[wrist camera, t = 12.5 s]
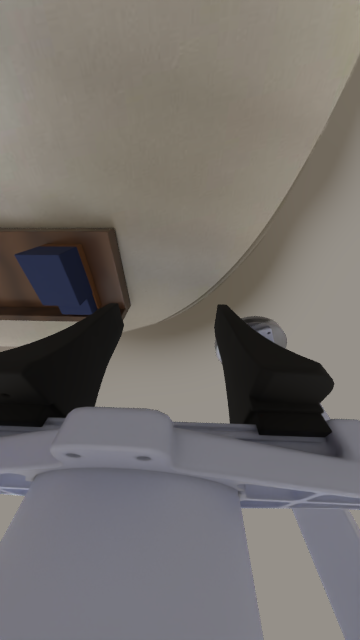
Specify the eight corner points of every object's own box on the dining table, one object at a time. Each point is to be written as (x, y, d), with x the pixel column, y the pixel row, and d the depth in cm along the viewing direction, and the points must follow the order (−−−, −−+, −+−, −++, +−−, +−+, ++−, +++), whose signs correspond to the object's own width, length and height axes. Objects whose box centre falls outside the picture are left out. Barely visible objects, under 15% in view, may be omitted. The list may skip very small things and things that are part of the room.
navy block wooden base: (45, 244, 18) (13, 254, 15) (81, 244, 18) (58, 254, 14) (72, 304, 22) (52, 322, 19) (102, 305, 22) (87, 323, 19)
